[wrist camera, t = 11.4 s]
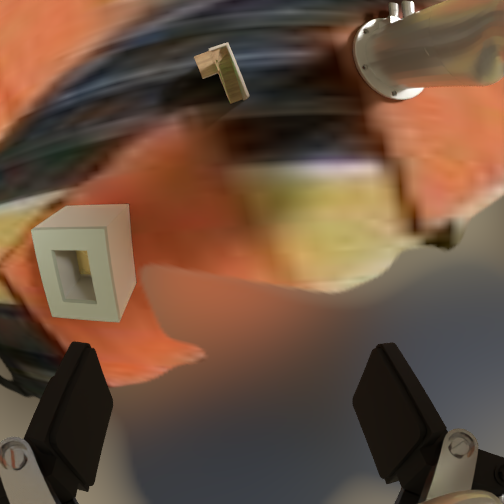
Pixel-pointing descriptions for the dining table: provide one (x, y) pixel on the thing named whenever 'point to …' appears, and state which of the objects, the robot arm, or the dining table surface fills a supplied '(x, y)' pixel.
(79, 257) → the tan wooden block
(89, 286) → the box
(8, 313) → the dining table surface
